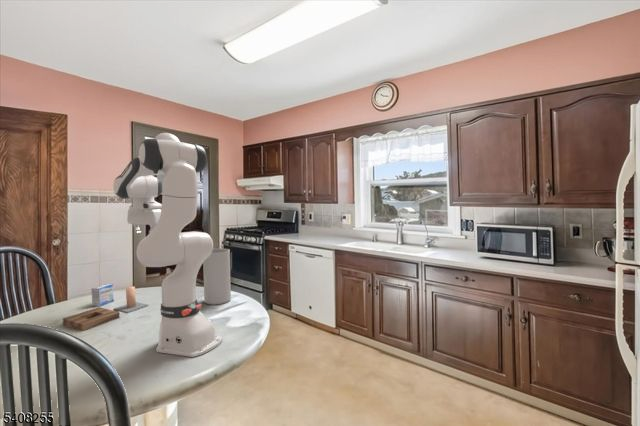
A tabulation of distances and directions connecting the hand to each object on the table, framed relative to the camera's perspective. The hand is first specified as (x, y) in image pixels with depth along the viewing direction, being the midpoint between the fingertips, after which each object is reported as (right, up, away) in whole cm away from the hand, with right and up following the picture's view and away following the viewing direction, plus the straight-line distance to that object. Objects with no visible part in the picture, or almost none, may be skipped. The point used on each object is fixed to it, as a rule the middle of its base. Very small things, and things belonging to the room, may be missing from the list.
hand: (144, 233), depth 148 cm
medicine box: (-22, -34, +4) cm, 41 cm away
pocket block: (-12, -35, -17) cm, 41 cm away
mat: (-5, -34, -2) cm, 35 cm away
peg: (-5, -34, -2) cm, 34 cm away
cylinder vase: (+32, -34, +7) cm, 47 cm away
